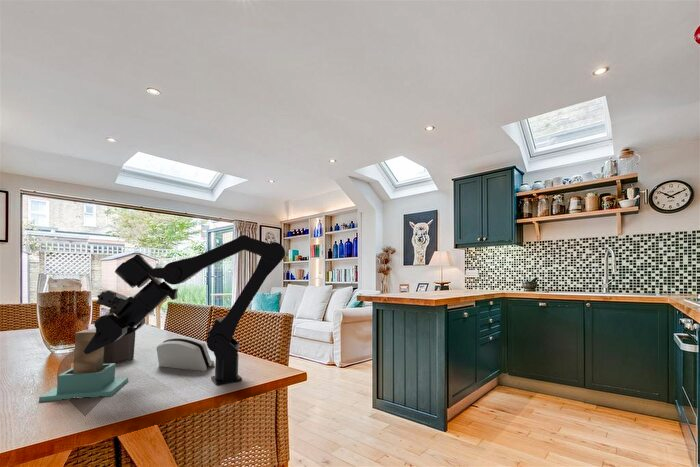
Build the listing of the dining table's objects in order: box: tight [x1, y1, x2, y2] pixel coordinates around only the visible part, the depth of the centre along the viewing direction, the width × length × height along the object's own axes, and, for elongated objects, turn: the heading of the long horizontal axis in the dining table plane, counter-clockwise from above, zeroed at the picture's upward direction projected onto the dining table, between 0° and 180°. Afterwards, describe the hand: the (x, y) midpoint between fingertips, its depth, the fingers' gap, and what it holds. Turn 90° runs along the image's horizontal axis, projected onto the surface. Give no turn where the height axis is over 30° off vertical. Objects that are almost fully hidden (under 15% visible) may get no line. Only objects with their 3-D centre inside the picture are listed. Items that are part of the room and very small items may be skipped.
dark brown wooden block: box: [103, 308, 137, 365], centre depth 112 cm, size 16×11×18 cm
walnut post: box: [72, 328, 104, 374], centre depth 86 cm, size 4×4×13 cm
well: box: [38, 363, 129, 403], centre depth 86 cm, size 14×11×5 cm
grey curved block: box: [156, 336, 215, 372], centre depth 106 cm, size 17×5×10 cm, turn 72°
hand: (93, 348), depth 87 cm, fingers open, 9 cm apart
